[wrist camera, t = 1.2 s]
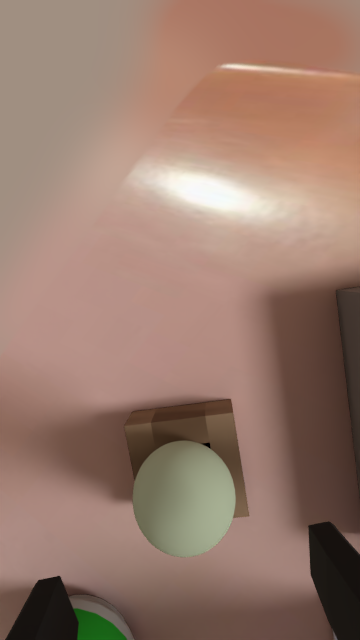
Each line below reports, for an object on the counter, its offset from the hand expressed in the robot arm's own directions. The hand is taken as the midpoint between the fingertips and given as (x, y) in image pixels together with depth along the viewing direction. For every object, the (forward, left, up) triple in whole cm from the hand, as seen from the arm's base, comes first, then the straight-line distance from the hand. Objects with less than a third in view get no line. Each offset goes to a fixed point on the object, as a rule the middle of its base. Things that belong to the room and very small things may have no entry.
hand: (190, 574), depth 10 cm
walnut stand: (-2, +1, -10) cm, 11 cm away
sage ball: (-2, +1, -7) cm, 7 cm away
